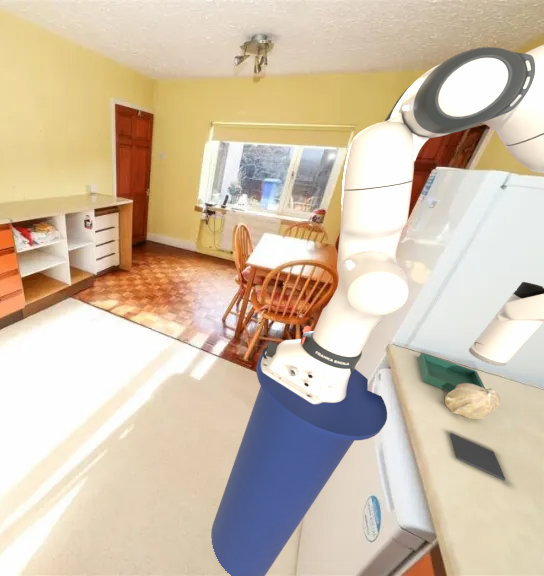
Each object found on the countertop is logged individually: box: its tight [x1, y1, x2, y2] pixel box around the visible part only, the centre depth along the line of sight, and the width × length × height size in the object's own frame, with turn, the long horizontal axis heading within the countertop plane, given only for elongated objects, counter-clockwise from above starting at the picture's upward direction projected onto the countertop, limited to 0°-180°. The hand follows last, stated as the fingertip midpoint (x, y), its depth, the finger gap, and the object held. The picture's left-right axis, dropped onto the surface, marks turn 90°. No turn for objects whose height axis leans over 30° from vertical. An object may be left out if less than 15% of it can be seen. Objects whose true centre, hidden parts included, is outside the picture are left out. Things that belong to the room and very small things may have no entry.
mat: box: [449, 432, 506, 481], centre depth 58 cm, size 7×7×1 cm
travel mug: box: [468, 281, 544, 367], centre depth 62 cm, size 6×7×20 cm
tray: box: [417, 352, 486, 392], centre depth 78 cm, size 13×13×2 cm
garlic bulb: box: [444, 383, 501, 420], centre depth 66 cm, size 9×8×10 cm
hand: (514, 317), depth 61 cm, fingers closed on travel mug, 6 cm apart
